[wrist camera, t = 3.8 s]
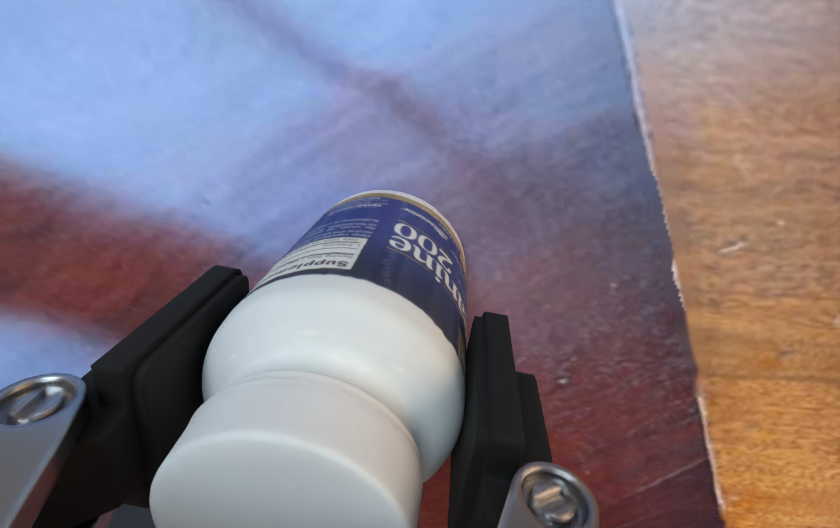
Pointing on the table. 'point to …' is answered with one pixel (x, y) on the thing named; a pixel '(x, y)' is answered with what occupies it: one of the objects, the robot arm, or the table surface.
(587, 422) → the table surface
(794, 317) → the table surface
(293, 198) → the table surface
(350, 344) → the pill bottle
